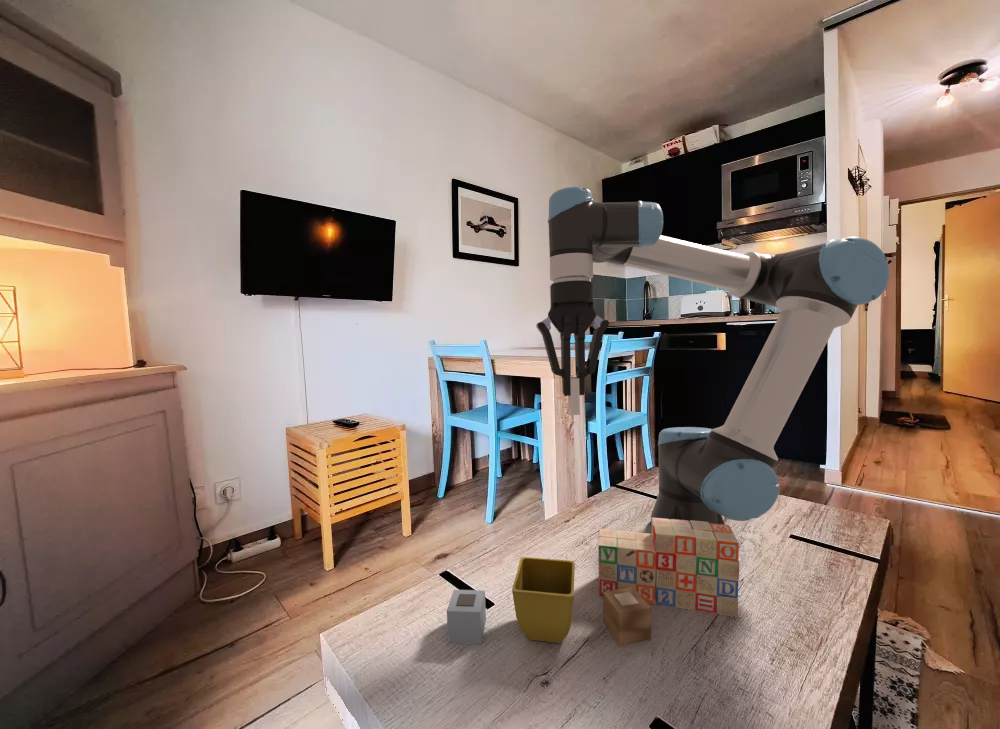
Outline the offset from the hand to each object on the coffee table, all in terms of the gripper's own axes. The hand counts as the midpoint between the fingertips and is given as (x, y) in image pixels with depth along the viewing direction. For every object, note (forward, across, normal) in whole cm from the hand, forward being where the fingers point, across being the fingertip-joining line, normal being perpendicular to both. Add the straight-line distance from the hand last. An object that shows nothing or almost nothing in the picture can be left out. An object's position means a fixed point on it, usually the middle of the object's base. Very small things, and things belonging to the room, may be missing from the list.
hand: (574, 413), depth 74 cm
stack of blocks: (+31, -13, +7) cm, 34 cm away
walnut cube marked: (+31, -4, +15) cm, 34 cm away
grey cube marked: (+31, +20, +13) cm, 39 cm away
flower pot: (+31, +8, +14) cm, 35 cm away
